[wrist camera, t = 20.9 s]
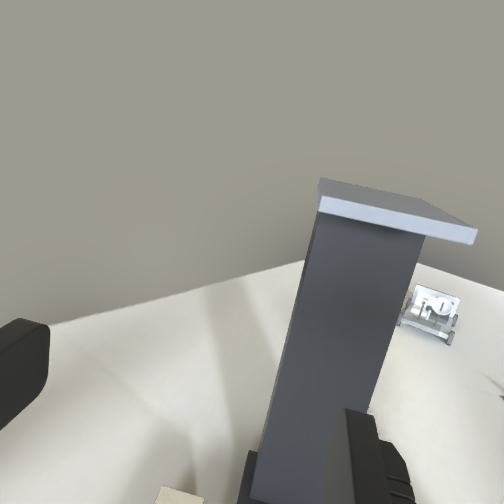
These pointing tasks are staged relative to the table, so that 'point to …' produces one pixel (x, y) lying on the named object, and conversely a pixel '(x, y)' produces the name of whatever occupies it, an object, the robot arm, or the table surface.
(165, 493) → the cream rectangular bar
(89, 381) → the table surface
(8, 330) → the robot arm
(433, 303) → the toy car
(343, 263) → the dark grey pillar
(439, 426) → the table surface
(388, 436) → the table surface
